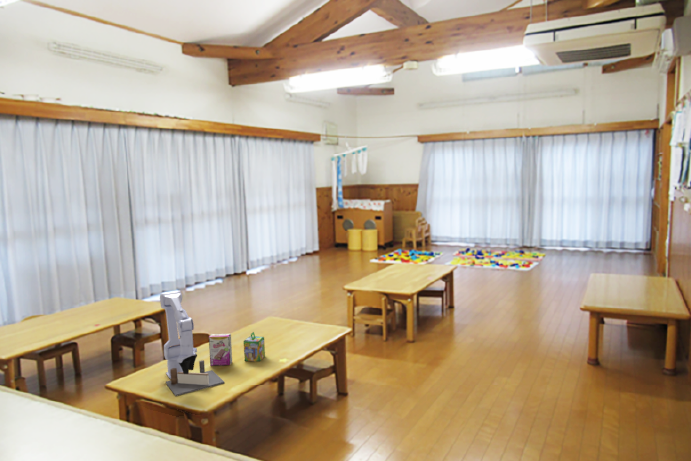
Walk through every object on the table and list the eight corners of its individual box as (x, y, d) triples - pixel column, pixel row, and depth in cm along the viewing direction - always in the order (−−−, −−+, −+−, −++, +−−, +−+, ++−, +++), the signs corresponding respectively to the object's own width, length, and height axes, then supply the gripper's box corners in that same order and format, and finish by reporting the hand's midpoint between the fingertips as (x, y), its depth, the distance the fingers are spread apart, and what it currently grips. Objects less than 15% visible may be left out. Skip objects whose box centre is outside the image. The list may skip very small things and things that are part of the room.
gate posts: (170, 384, 234) (169, 369, 233) (203, 374, 246) (202, 359, 245) (172, 386, 232) (171, 371, 231) (205, 376, 243) (204, 361, 243)
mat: (165, 383, 236) (165, 381, 236) (212, 371, 249) (212, 369, 249) (175, 396, 221) (175, 394, 221) (224, 383, 234) (224, 381, 234)
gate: (178, 383, 233) (177, 372, 232) (179, 382, 234) (178, 371, 233) (208, 384, 230) (207, 374, 229) (209, 384, 231) (208, 373, 230)
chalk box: (259, 362, 260) (258, 336, 259) (244, 361, 262) (242, 335, 261) (265, 356, 269) (264, 330, 268) (250, 355, 271) (249, 330, 270)
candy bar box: (210, 366, 257) (208, 336, 255) (212, 362, 262) (210, 333, 260) (230, 365, 257) (229, 336, 255) (232, 361, 262) (231, 333, 260)
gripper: (186, 349, 216) (188, 378, 218) (201, 339, 230) (203, 366, 232) (172, 349, 218) (174, 377, 219) (188, 338, 232) (190, 365, 233)
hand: (188, 371), depth 226 cm, fingers open, 4 cm apart
